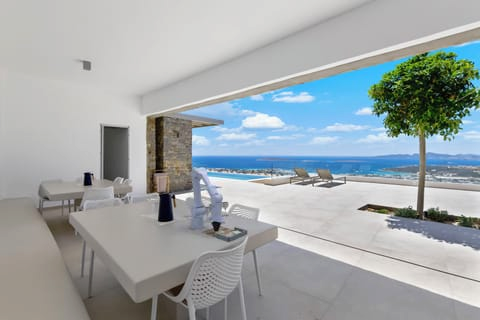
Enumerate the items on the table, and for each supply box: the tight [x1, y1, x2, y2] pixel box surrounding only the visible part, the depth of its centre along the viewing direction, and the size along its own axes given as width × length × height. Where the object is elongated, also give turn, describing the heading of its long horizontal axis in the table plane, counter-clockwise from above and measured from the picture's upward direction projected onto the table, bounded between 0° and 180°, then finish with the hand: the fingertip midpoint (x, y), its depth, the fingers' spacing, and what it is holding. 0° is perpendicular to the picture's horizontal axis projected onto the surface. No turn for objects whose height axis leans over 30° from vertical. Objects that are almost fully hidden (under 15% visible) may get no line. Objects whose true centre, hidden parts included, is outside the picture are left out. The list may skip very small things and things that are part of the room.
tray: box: [215, 226, 248, 243], centre depth 148 cm, size 11×18×4 cm, turn 139°
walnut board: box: [201, 225, 234, 238], centre depth 157 cm, size 15×18×1 cm
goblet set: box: [203, 201, 229, 224], centre depth 191 cm, size 28×6×13 cm, turn 144°
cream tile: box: [215, 230, 226, 236], centre depth 150 cm, size 4×4×2 cm
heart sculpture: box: [185, 196, 204, 220], centre depth 191 cm, size 16×5×18 cm, turn 60°
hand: (216, 232), depth 152 cm, fingers closed
